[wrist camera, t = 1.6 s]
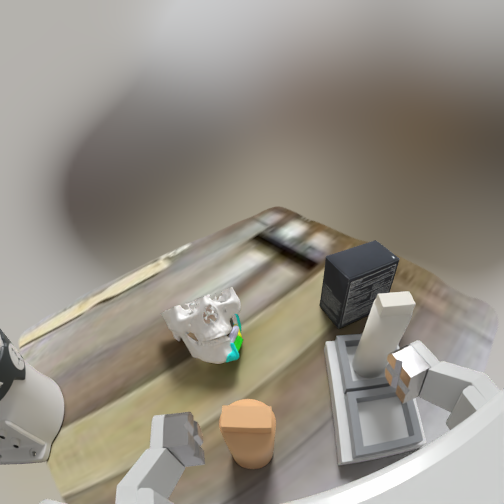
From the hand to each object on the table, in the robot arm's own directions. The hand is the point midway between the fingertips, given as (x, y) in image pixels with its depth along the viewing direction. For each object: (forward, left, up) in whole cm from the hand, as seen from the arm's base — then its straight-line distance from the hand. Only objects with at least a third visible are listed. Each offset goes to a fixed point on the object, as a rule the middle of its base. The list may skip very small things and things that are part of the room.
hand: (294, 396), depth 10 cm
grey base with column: (+16, 0, -25) cm, 29 cm away
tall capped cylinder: (0, +5, -25) cm, 25 cm away
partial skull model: (+6, +22, -25) cm, 34 cm away
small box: (+28, +13, -25) cm, 40 cm away
